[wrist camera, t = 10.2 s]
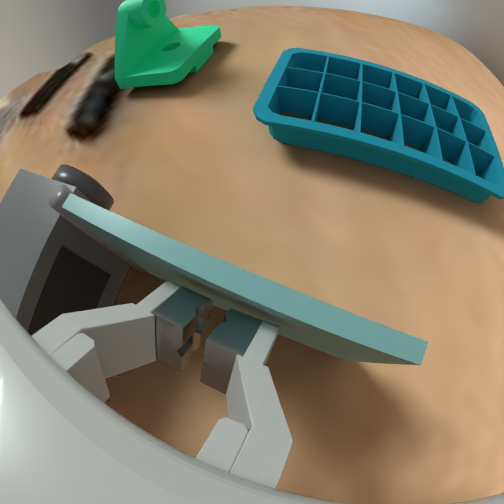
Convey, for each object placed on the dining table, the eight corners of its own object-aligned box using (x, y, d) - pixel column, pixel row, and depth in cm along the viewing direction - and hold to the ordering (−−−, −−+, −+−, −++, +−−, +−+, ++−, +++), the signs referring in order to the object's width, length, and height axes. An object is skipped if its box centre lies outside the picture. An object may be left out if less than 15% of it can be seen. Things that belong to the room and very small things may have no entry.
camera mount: (182, 92, 22) (152, 3, 13) (123, 95, 24) (88, 24, 14) (225, 41, 26) (212, -27, 16) (172, 44, 27) (154, -15, 18)
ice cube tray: (286, 70, 22) (285, 46, 20) (469, 126, 19) (481, 107, 16) (252, 148, 19) (247, 118, 16) (492, 220, 15) (512, 202, 12)
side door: (134, 268, 16) (45, 203, 8) (143, 250, 16) (62, 175, 8) (342, 363, 13) (417, 372, 5) (351, 340, 13) (433, 322, 6)
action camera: (87, 200, 18) (29, 140, 11) (153, 224, 17) (89, 148, 10) (20, 363, 14) (-54, 350, 7) (74, 418, 12) (-13, 429, 5)
